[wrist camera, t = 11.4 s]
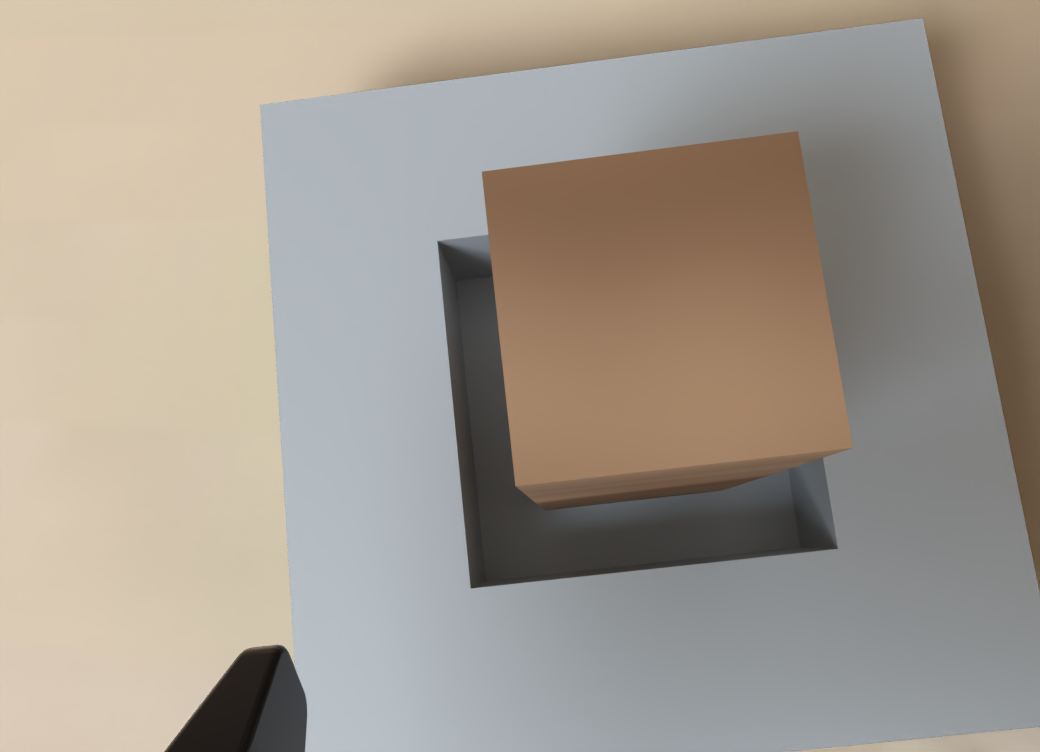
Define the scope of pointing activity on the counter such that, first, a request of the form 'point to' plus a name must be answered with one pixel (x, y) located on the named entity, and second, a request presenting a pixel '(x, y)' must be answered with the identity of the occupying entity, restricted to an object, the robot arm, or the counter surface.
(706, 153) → the walnut post
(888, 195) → the well block
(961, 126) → the counter surface
